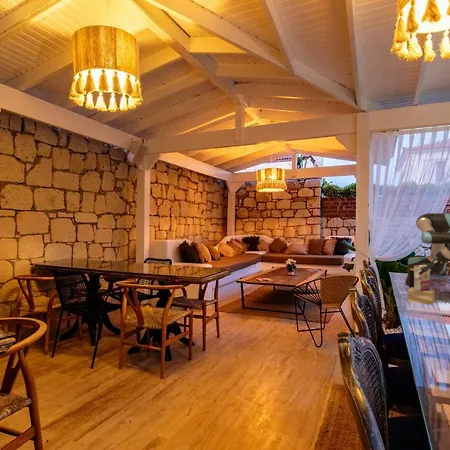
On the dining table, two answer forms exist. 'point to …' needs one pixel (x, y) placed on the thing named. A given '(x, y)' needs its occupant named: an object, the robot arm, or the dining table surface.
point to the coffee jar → (411, 278)
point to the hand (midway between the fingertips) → (418, 275)
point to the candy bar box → (421, 279)
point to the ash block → (421, 296)
